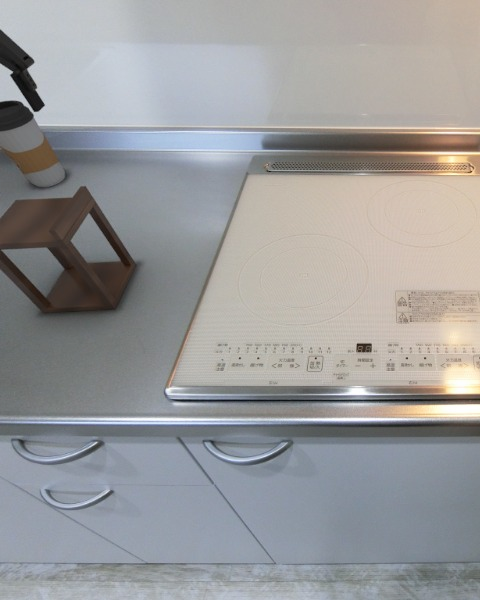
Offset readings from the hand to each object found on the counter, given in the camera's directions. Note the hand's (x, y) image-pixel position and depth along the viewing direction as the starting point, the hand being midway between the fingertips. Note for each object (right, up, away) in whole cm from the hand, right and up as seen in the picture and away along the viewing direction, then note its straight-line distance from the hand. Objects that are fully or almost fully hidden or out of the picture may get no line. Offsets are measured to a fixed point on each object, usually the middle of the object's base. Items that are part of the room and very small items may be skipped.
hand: (2, 110), depth 81 cm
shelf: (+24, -33, -10) cm, 42 cm away
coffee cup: (0, -10, +11) cm, 15 cm away
